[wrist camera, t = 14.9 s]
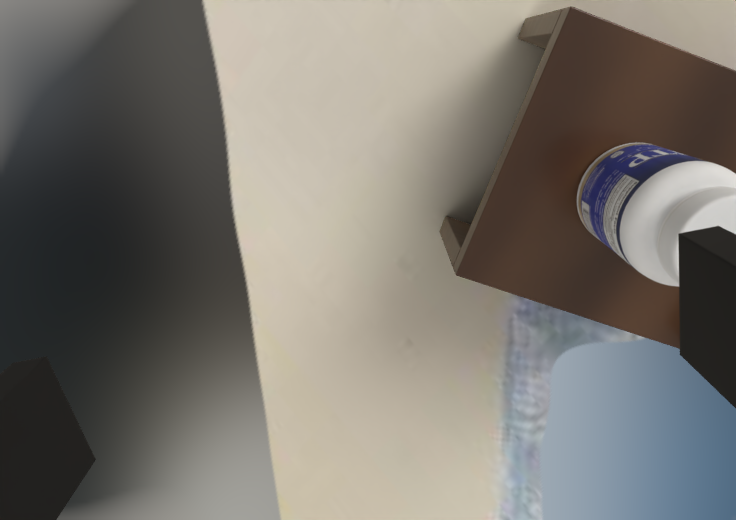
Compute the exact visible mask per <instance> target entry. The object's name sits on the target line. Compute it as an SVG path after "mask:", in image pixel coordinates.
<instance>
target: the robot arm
mask: <svg viewBox="0 0 736 520" xmlns="http://www.w3.org/2000/svg"><path fill="white" fill-rule="evenodd" d="M678 241H679V316H680V355H681V356H682V357H683V358H684V359H685V360H686V361H688V363H689V364H690V365H691V366H692V367H693V368H694V369H695V370H696V371H698V372H699V373H700V374H701V375H702V376H703V377H704V378H705V379H706V380H707V381H708V382H709V383H710V384H711V385H712V386H713V387H714V388H716V390H717V391H718V392H719V393H720V394H721V395H723V396H724V397H725V398H726V399H727V400H728V401H729V402H730V403H731V404H732V405H733V406H734V407H735V408H736V234H734V233H732V232H730V231H728V230H726V229H724V228H722V227H720V226H715V227H710V228H705V229H699V230H694V231H689V232H684V233H679V234H678ZM94 462H95V457H94V455H93V453H92V451H91V449H90V447H89V445H88V442H87V440H86V438H85V436H84V434H83V432H82V430H81V428H80V426H79V423H78V421H77V419H76V417H75V415H74V413H73V411H72V409H71V407H70V405H69V402H68V400H67V398H66V396H65V394H64V392H63V390H62V388H61V386H60V384H59V381H58V380H57V378H56V375H55V373H54V371H53V369H52V367H51V365H50V363H49V361H48V358H47V357H41V358H36V359H31V360H26V361H21V362H16V363H12V364H11V365H10V366H9V367H8V368H7V369H6V370H4V371H3V372H2V373H1V374H0V520H56V519H57V518H58V516H59V515H60V513H61V512H62V510H63V509H64V507H65V506H66V504H67V502H68V501H69V499H70V498H71V496H72V495H73V493H74V492H75V490H76V489H77V487H78V486H79V484H80V483H81V481H82V480H83V478H84V477H85V475H86V474H87V472H88V471H89V469H90V468H91V466H92V465H93V463H94Z"/></svg>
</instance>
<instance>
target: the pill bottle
mask: <svg viewBox="0 0 736 520" xmlns="http://www.w3.org/2000/svg"><path fill="white" fill-rule="evenodd" d="M577 209H578V213H579V216H580V219H581V221H582V223H583V224H584V226H585V227H586V228H587V230H588V231H589V232H590V233H591V234H593V235H594V236H595V237H596V238H597V239H599V240H600V241H601V242H602V243H604V244H605V245H606V246H608V247H609V248H610V249H611V250H613V251H614V252H615V253H616V254H618V255H619V256H620V257H621V258H622V259H624V260H625V261H626V262H627V263H628V264H630V265H631V266H632V267H633V268H634V269H635V270H637V271H638V272H640V273H641V274H643V275H644V276H646V277H648V278H649V279H651V280H653V281H656V282H658V283H661V284H665V285H669V286H679V241H678V234H679V233H684V232H689V231H694V230H699V229H705V228H710V227H715V226H720V227H722V228H724V229H726V230H728V231H730V232H732V233H734V234H736V174H735V173H734V172H732V171H731V170H729V169H727V168H725V167H723V166H720V165H718V164H715V163H712V162H708V161H705V160H702V159H698V158H695V157H691V156H688V155H685V154H682V153H678V152H675V151H672V150H669V149H665V148H662V147H659V146H656V145H652V144H648V143H628V144H623V145H620V146H617V147H614V148H612V149H610V150H608V151H607V152H605V153H603V154H602V155H601V156H599V157H598V158H597V159H596V160H595V161H594V162H593V163H592V164H591V165H590V166H589V168H588V169H587V170H586V172H585V173H584V175H583V177H582V179H581V182H580V184H579V187H578V192H577Z"/></svg>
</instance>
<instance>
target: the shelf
mask: <svg viewBox="0 0 736 520" xmlns="http://www.w3.org/2000/svg"><path fill="white" fill-rule="evenodd" d="M518 39H520V40H523V41H526V42H528V43H531V44H533V45H536V46H539V47H541V48H544V49H545V52H544V54H543V56H542V59H541V61H540V64H539V66H538V68H537V71H536V73H535V75H534V78H533V80H532V82H531V85H530V87H529V89H528V92H527V94H526V96H525V99H524V101H523V104H522V106H521V108H520V111H519V113H518V115H517V118H516V120H515V122H514V125H513V127H512V129H511V132H510V134H509V136H508V139H507V141H506V144H505V146H504V148H503V151H502V153H501V155H500V158H499V160H498V162H497V165H496V167H495V169H494V172H493V174H492V177H491V179H490V181H489V184H488V186H487V188H486V191H485V193H484V195H483V198H482V200H481V202H480V205H479V207H478V209H477V212H476V214H475V217H474V219H473V221H472V224H468V223H465V222H463V221H460V220H457V219H454V218H451V217H448V216H446V217H445V219H444V221H443V224H442V226H441V229H440V231H439V232H440V235H441V237H442V240H443V242H444V245H445V248H446V250H447V253H448V255H449V258H450V261H451V263H452V266H453V269H454V271H455V274H456V275H457V276H460V277H463V278H466V279H469V280H472V281H475V282H478V283H481V284H484V285H488V286H491V287H494V288H497V289H500V290H503V291H506V292H509V293H512V294H515V295H518V296H521V297H524V298H527V299H530V300H533V301H536V302H539V303H542V304H545V305H548V306H551V307H554V308H557V309H560V310H564V311H567V312H570V313H573V314H576V315H579V316H582V317H585V318H588V319H591V320H594V321H597V322H600V323H603V324H606V325H609V326H612V327H615V328H618V329H621V330H624V331H627V332H630V333H633V334H636V335H639V336H643V337H646V338H649V339H652V340H655V341H658V342H661V343H664V344H667V345H670V346H673V347H676V348H679V349H680V316H679V286H669V285H665V284H661V283H658V282H656V281H653V280H651V279H649V278H648V277H646V276H644V275H643V274H641V273H640V272H638V271H637V270H635V269H634V268H633V267H632V266H631V265H630V264H628V263H627V262H626V261H625V260H624V259H622V258H621V257H620V256H619V255H618V254H616V253H615V252H614V251H613V250H611V249H610V248H609V247H608V246H606V245H605V244H604V243H602V242H601V241H600V240H599V239H597V238H596V237H595V236H594V235H593V234H591V233H590V232H589V231H588V230H587V228H586V227H585V226H584V224H583V223H582V221H581V219H580V216H579V213H578V209H577V192H578V187H579V184H580V182H581V179H582V177H583V175H584V173H585V172H586V170H587V169H588V168H589V166H590V165H591V164H592V163H593V162H594V161H595V160H596V159H597V158H598V157H599V156H601V155H602V154H603V153H605V152H607V151H608V150H610V149H612V148H614V147H617V146H620V145H623V144H628V143H648V144H652V145H656V146H659V147H662V148H665V149H669V150H672V151H675V152H678V153H682V154H685V155H688V156H691V157H695V158H698V159H702V160H705V161H708V162H712V163H715V164H718V165H720V166H723V167H725V168H727V169H729V170H731V171H732V172H734V173H735V174H736V71H735V70H732V69H730V68H727V67H725V66H722V65H719V64H717V63H714V62H712V61H709V60H707V59H704V58H702V57H699V56H697V55H694V54H691V53H689V52H686V51H684V50H681V49H679V48H676V47H674V46H671V45H668V44H666V43H663V42H661V41H658V40H656V39H653V38H651V37H648V36H646V35H643V34H640V33H638V32H635V31H633V30H630V29H628V28H625V27H623V26H620V25H617V24H615V23H612V22H610V21H607V20H605V19H602V18H600V17H597V16H595V15H592V14H589V13H587V12H584V11H582V10H579V9H577V8H574V7H568V8H564V9H560V10H557V11H553V12H549V13H545V14H541V15H537V16H533V17H530V18H526V19H525V22H524V24H523V27H522V29H521V32H520V34H519V36H518Z"/></svg>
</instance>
